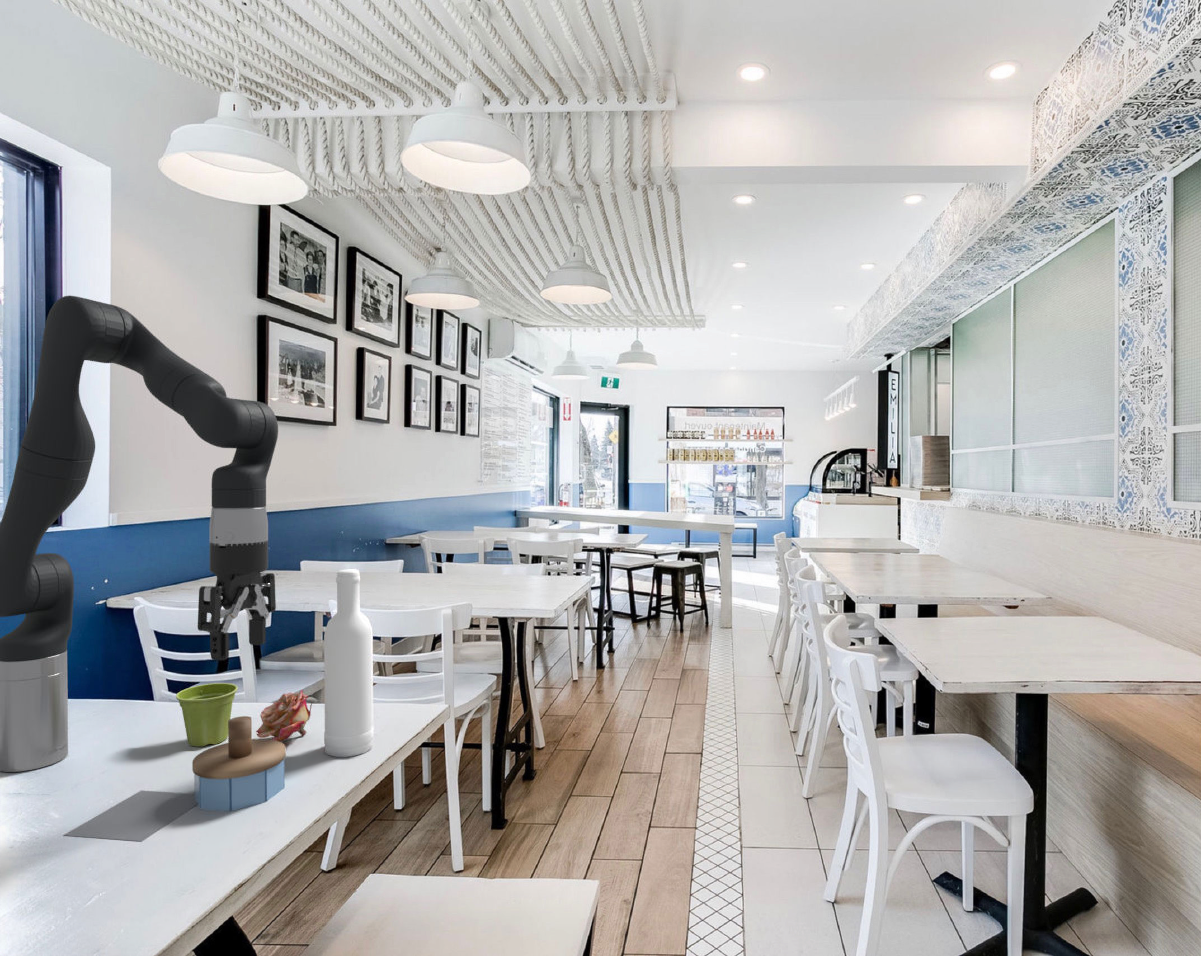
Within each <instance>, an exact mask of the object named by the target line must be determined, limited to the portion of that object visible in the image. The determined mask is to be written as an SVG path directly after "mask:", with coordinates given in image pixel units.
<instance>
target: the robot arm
mask: <svg viewBox="0 0 1201 956" xmlns="http://www.w3.org/2000/svg"><path fill="white" fill-rule="evenodd" d="M46 317H47V318H46V321H45V325H44V330H43V335H42V342H41V350H40V357H39V358H40V359H39V367H38V371H37V372H38V373H37V380H36V385H35V391H34V394H33V399H32V405H31V408H30V412H29V416H28V421H27V424H26V427H25V431H24V435H23V438H22V441H21V446H20V449H19V452H18V456H17V461H16V464H15V468H14V474H13V480H12V483H11V487H10V491H9V495H8V497H7V498H8V499H7V502H6V504H5V509H4V512H3V515H2V518H1V521H0V618H5V617H14V616H20V615H24V618H23V620H22V621H21V622H20V623H19V624H18V626H17V627H16V628H14V629H13V630H11V631H10V632H9V633H7V634H5V635H3V636H2V637H0V772H6V773H11V772H12V773H15V772H25V771H31V770H36V769H39V768H43V767H44V768H45V767H47V766H50V765H54V764H56V763H58V762H60V761H63V760H64V759H65V758H66V757H68V755H69V721H68V720H69V717H68V716H69V714H68V713H69V712H68V711H69V707H68V705H69V704H68V701H69V700H68V697H69V696H68V693H69V692H68V691H69V689H68V640H69V638H70V635H71V632H72V627H73V612H74V611H73V609H74V595H75V594H74V593H75V591H74V590H75V582H74V576H73V575H74V574H73V570H72V567H71V565H70V563H69V562H68V561H67V559H66V558H64V557H63V556H62V555H61V554H57V553H55V552H54V553H52V552H47V553H37V552H38V551H37V550H38V549H39V547H40V546H39V545H40V543H41V541H42V539H43V537H44V535H45V534H46V532H47V531H48V530H49V528H50V527H51V526H52V525H53V524H54V523H55V521H56V520H57V519H58V518H59V517H60V516H61V515H62V514H63V513H64V512H65V511H66V510H67V509H68V508H69V507H71V505H72V503H74V501H75V500H77V498H78V497H79V495H80V494H81V493H82V491H83V490H84V488H85V486H86V485H87V481H88V479H89V476H90V471H91V468H92V464H93V460H94V457H95V453H96V441H95V435H94V433H93V430H92V427H91V424H90V422H89V419H88V417H87V415H86V413H85V411H84V410H85V409H84V407H83V406H82V403H81V396H80V381H81V374H82V371H83V370H82V369H83V365H84V363H85V361H90V362H93V363H94V362H95V363H101V364H116V365H119V366H121V367H124V368H126V369H129V370H132V371H134V372H135V373H137V374H139V375H141V377H142V378H143V381H144V382H143V383H144V385H145V386H146V388H147V390H148V391H149V393H151V395H152V396H153V397H154V398H155V399H157V401H159V402H160V403H162V404H163V405H165V406H166V407H168V408H169V409H170V410H172V411H174V412H175V413H176V414H178V415H180V416H181V417H183V418H184V420H185V421H186V423H187V424H188V425H189V426H190V428H191V429H192V430H193V431H194V432H195V434H196V435H197V436H198V437H199V438H200V439H202V440H203V441H204V442H206V444H207V443H208V444H209V445H211V446H215V447H217V448H222V449H235V452H234V455H233V457H232V460H231V462H230V463H229V464H226V465H223V466H222V465H221V466H219V467H217V468H215V469H214V471H213V472H212V475H211V476H212V477H211V512H210V519H209V572H210V573H211V574H213V575H215V576H216V582H215V585H213V586H212V585H207V586H205V585H204V586H203V585H201V586H200V588H199V590H198V606H197V607H198V608H197V611H198V612H197V630H198V631H199V632H202V631H203V632H207V633H209V644H210V645H209V646H210V647H209V654H210V659H211V660H213V661H225V660H227V659H229V657H230V635H229V634H230V633H229V628H230V626H231V624H232V622H233V620H234V619H236V618H237V617H238V615H239V613H240V612H242V611H246V613H247V615H248V617H249V618H250V619H248V642H249V644H250V645H251V646H253V645H254V646H261V645H264V644H265V643H266V638H267V637H266V636H267V635H266V633H267V631H266V630H267V628H266V627H267V623H266V622H267V619H268V618H269V616H270V613H274V612H276V609H277V603H276V602H277V601H276V576H275V574H274V572H266V571H267V570H268V568H269V520H268V513H267V478H268V473H269V470H270V467H271V464H272V460H273V457H274V453H275V449H276V445H277V442H278V437H279V436H278V435H279V425H278V423H279V422H278V420H277V417H276V415H275V414H276V413H274V411H273V409H272V408H271V407H270V406H269V405H268V404H266V403H264V402H261V401H258V400H257V401H256V400H249V399H248V400H247V399H239V398H230V397H228V396H227V392H226V390H225V388H224V387H223V385H222V384H221V383H220V382H219V381H218V380H216V379H215V378H213V376H210V375H209V374H208V373H206V372H204V371H203V370H201V369H200V368H198V367H196V366H195V365H193V364H191V363H190V362H188V361H186V359H184V358H183V357H180V356H179V355H178V354H177V353H175V352H174V351H172V350H171V349H170V348H169V347H168V346H166V345H165V344H164V343H163V342H162V341H161V340H160V339H159V338H157V337H156V336H155V335H154V334H153V333H152V332H151V331H150V330H149V328H147V327H145V325H144V324H143V323H142V322H141V321H140V320H139V319H138V318H137V317H135V316H134V315H133V314H132V313H131V312H129V311H128V310H126V309H124V308H122V307H120V306H118V305H114V304H111V303H110V304H109V303H105V302H102V301H97V300H93V299H89V298H84V297H80V296H76V295H64V296H62V297H59V298H58V299H57V300H56V301H55V302H54V303H53V305H52V306H51V308H50V310H49V312H48V314H47V316H46ZM265 597H267V600H266V599H265ZM222 608H223V609H222ZM208 614H210V615H211V616H210V619H209V621H208ZM221 619H223V620H222V622H221Z"/></svg>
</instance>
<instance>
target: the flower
mask: <svg viewBox="0 0 1201 956" xmlns="http://www.w3.org/2000/svg"><path fill="white" fill-rule="evenodd" d="M308 698H309V695H306V694H304V690H303V689H302V690H300V691H299V692H295V693H293V692H288V693H283V694H282V695H281V696H280V698H278V699H277V700H275V702H274V701H273V703H272V704H271V705H269V706H266V707H265V708H264V709H263V710H262V711H261V713H260V719H261V721H262V724H261V726H260V727H258V729H257V730H256V731H255V733H256V736H257V737H258V739H266V738H269V737H270V736H271V737H272V738H271V740H275V741H279V742H281V743H283V742H284V741H286V740H287V739H288V738H290V737H291V736H292V735H293V734H294V733H299V734H300V736H302V737H304V736H305V735H306V734H307V733H308V732H307V731H306V729H304V728H305V726H306V724H307V723H308V721H309V720H310V718H311V715H312V714H311V712H312V711H311V709H312V706H313V701H311V703H310V707H309V709H308V704H307V700H308Z"/></svg>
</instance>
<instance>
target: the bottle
mask: <svg viewBox="0 0 1201 956" xmlns="http://www.w3.org/2000/svg"><path fill="white" fill-rule="evenodd" d="M360 575H361V574H360V570H358V569H353V568H349V569H340V570H338V571H337V572H336V578H335V582H336V609H337V610H336V613H335V614H334V615H333V616H332V617H331V618H330V619H329V620H328V621H327V625H326V627H325V630H324V635H323V644H324V645H323V654H324V655H323V658H324V666H323V667H324V668H323V669H324V675H323V677H324V678H323V679H324V682H323V683H324V734H323V735H324V736H323V737H324V738H323V741H324V742H323V743H324V752H325V753H326V755H328V756H330V757H334V758H337V757H338V758H347V757H348V758H349V757H355V756H359V755H362V754H365V753H366V752H369V751H371V749H372V748H373V747H374V738H375V729H374V727H375V726H374V667H373V666H374V655H373V654H374V642H373V641H374V639H373V638H374V637H373V636H374V632H373V628H372V624H371V623H370V620H369V618H368V617H367V616H366V615H365V614H364V613H363V612H362V611H360V609H361V606H360V605H361V602H360V600H361V597H360V596H361V595H360V593H361V590H360V589H361V587H360V582H361V576H360Z"/></svg>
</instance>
